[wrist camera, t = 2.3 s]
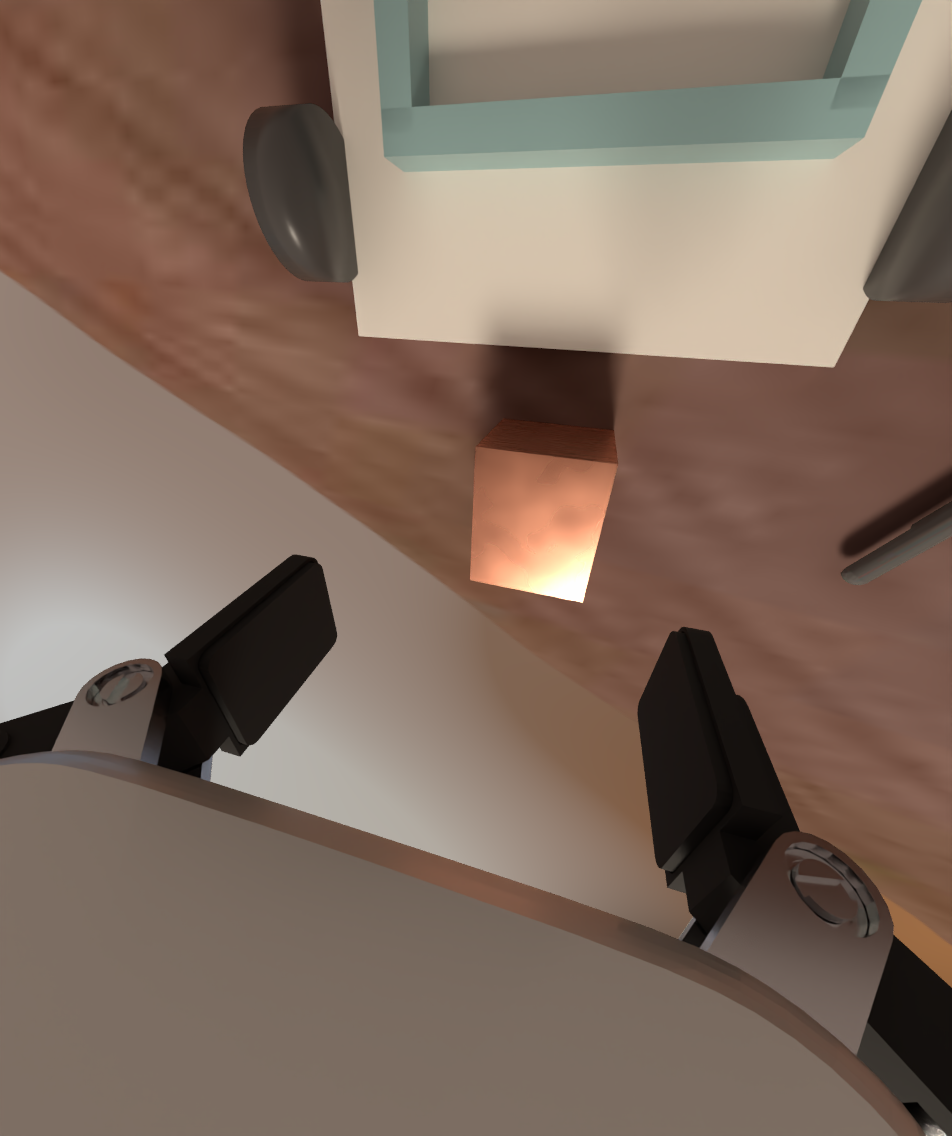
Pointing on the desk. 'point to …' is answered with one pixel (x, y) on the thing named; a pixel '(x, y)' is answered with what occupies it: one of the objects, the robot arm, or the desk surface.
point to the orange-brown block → (540, 505)
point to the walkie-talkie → (902, 547)
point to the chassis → (620, 171)
